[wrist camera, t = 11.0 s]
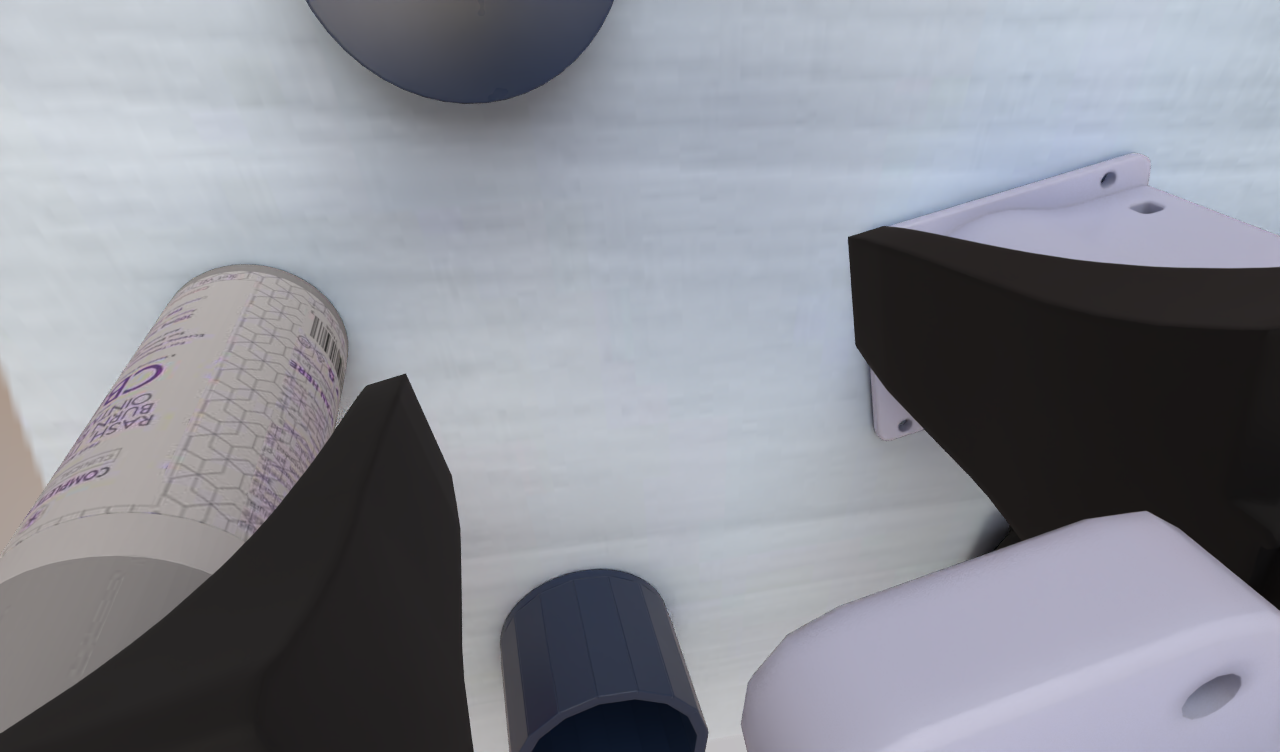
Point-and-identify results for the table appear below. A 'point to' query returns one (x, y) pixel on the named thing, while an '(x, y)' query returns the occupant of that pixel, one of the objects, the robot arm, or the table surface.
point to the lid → (463, 42)
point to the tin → (597, 670)
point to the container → (169, 474)
